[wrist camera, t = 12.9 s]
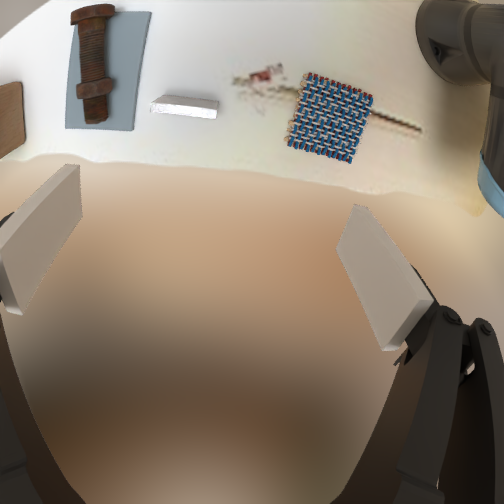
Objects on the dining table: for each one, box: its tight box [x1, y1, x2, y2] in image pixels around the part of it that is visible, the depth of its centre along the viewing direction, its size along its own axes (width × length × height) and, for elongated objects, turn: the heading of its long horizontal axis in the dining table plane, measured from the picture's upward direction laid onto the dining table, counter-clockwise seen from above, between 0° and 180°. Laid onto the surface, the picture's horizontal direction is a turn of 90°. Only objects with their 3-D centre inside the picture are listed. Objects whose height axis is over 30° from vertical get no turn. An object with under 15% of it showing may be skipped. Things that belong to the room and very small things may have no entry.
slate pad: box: [65, 12, 151, 131], centre depth 29 cm, size 10×16×1 cm, turn 168°
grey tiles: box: [150, 95, 219, 119], centre depth 26 cm, size 7×19×7 cm, turn 168°
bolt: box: [71, 4, 115, 124], centre depth 26 cm, size 6×5×15 cm
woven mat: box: [284, 73, 374, 164], centre depth 36 cm, size 10×11×2 cm
